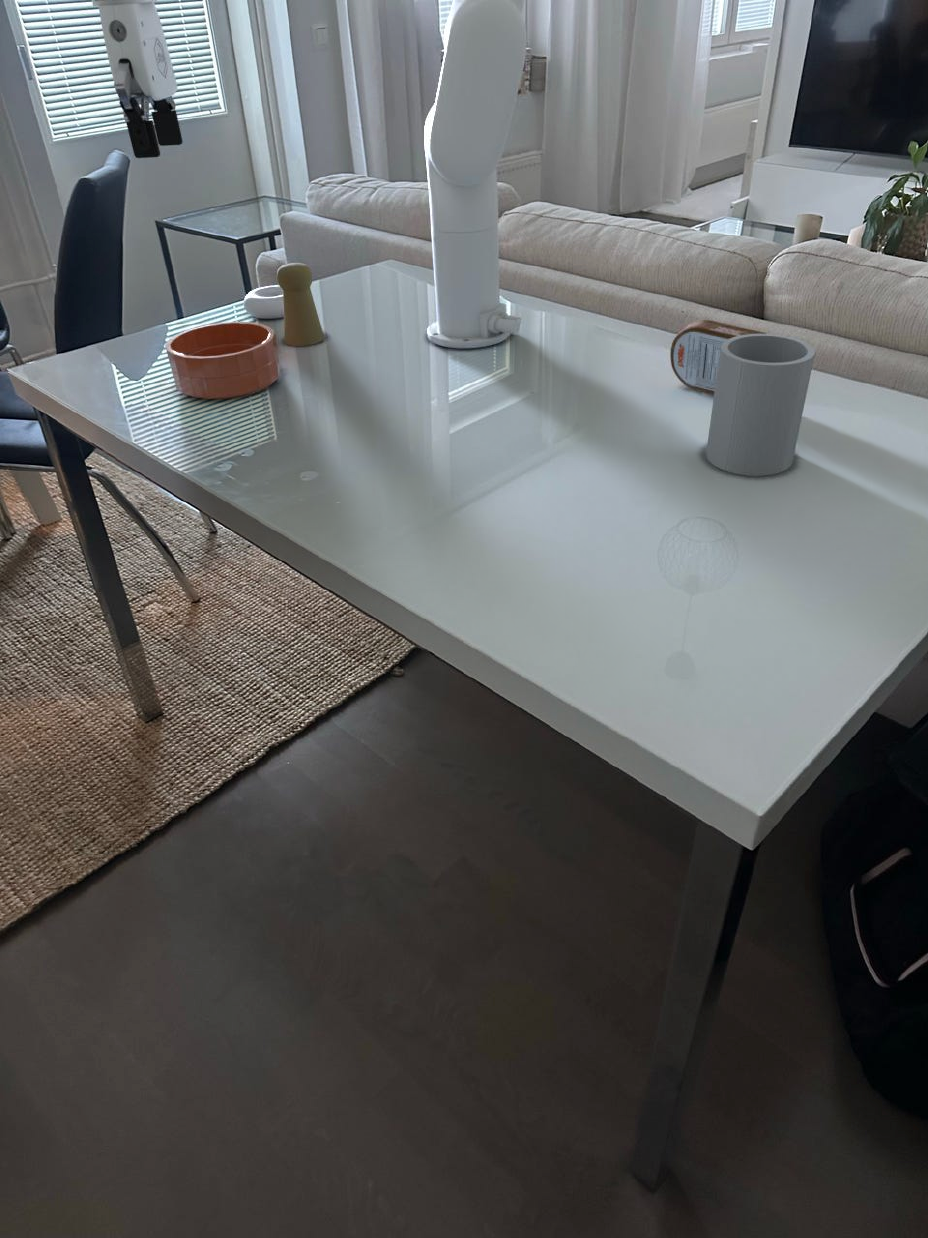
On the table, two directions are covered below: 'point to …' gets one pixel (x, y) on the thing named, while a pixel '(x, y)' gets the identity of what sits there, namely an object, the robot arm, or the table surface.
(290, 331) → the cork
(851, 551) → the table surface
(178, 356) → the basin
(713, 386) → the tin
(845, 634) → the table surface
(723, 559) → the table surface
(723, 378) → the cup
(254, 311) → the donut
